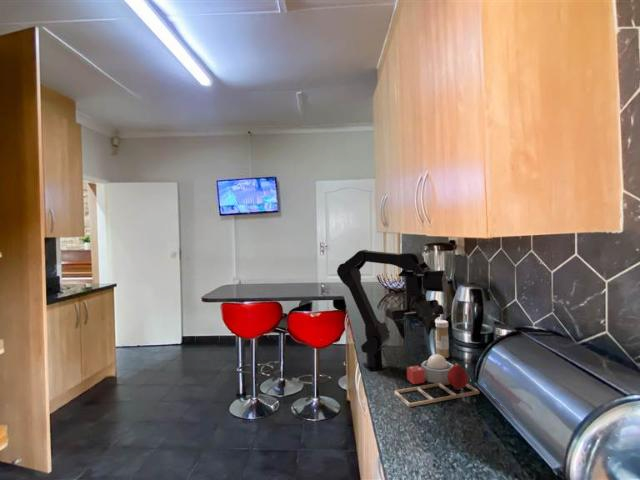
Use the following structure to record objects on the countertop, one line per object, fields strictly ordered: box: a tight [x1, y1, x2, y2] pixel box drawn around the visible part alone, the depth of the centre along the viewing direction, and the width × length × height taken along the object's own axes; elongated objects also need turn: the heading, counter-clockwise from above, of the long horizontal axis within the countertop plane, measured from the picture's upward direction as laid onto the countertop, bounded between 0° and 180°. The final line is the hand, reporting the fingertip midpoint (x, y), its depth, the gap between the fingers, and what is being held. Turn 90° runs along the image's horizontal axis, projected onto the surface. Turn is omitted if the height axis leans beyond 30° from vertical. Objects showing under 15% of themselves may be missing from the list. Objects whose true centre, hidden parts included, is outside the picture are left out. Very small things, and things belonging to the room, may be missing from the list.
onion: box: [447, 362, 469, 391], centre depth 110 cm, size 6×6×8 cm
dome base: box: [406, 359, 455, 385], centre depth 119 cm, size 10×15×4 cm, turn 105°
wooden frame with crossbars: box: [393, 381, 480, 408], centre depth 108 cm, size 9×23×1 cm, turn 105°
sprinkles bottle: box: [434, 319, 450, 359], centre depth 138 cm, size 5×5×14 cm
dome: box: [426, 353, 449, 370], centre depth 119 cm, size 7×7×6 cm
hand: (415, 336), depth 121 cm, fingers open, 9 cm apart
